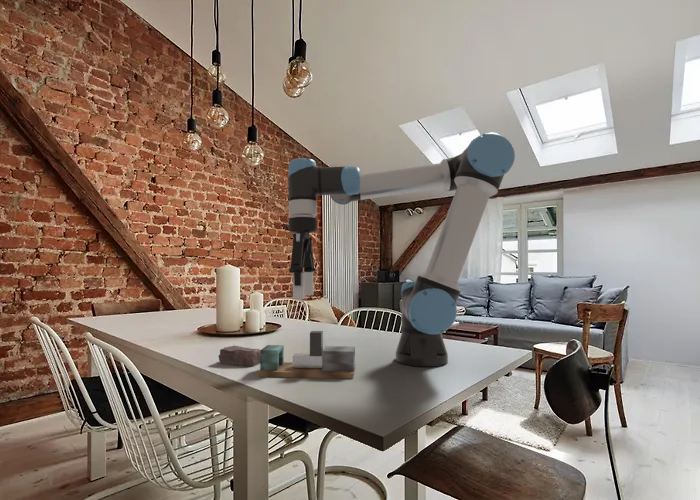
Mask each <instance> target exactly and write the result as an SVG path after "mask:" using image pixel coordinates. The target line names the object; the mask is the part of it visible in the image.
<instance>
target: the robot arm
mask: <svg viewBox="0 0 700 500" xmlns="http://www.w3.org/2000/svg"><path fill="white" fill-rule="evenodd" d="M515 157H516V153H515V149H514V147H513V146H512V144H511V142H510V140H509V139H507V138H506V137H505V136H503V135H502V134H498V133H497V132H486V133H482V134H479V135H478V136H477V137H475V138H473V139H472V140H471V141H470V142H469V144H468V146H466V148H465V149H464V150H463V151H462V152H461V153H460V154H458V155H455V156H453V157H449V158H444V159H442V160H441V161H440V162H439V163H432V164H424V165H417V166H411V167H404V168H398V169H397V168H396V169H391V170H383V171H378V172H377V171H376V172H369V173H363V174H361V169H360V168H359V167H358V166H350V165H344V166H325V167H323V166H320V167H319V166H317V163H316V161H315V160H314V159H311V158H305V157H300V158H295V159H292V160H290V161H289V163H288V175H287V183H288V184H287V185H288V186H287V187H288V188H287V189H288V190H287V191H288V205H286V209H287V210H288V216H289V217H290V218H288V231H289V232H290V233H293V235H292V237H293V238H292V249H291V250H292V251H291V261H290V268H289V269H288V270H289V271H288V272H289V274H292V300H305V296H314V273H315V272H316V271H317V268H315V262H314V261H315V260H314V250H313V238H312V236H310V233H311V234H313V233H316V232H317V231H318V219H317V218H316V217H317V216H318V202H317V196H329V197H330V198H331V200H332V201H333V202H335V203H336V204H338V205H342V206H343V205H348V204H349V203H351V202H356V201H357V202H358V201H361V200H362V201H363V200H370V199H375V198H376V199H377V198H384V197H390V196H399V195H405V194H414V193H420V192H427V191H434V190H442V189H443V190H444V191H446V192H451V191H455V192H454V195H453V198H452V201H451V204H450V207H449V208H448V211H447V214H446V216H445V219H444V223H443V225H442V227H441V230H440V232H439V234H438V235H439V236H438V238H437V240H436V244H435V246H434V249H433V251H432V253H431V257H430V260H429V262H428V265H427V268H426V270H425V271H424V272H421V273H419V274H418V275H417V277H416V280H414V281H413V280H412V281H407V282H404V283H402V285H401V290H400V296H401V335H400V337H399V341H398V344H397V347H396V351H395V361H396V362H398V363H400V364H403V365H405V366H406V365H408V366H413V367H438V366H444V365H446V364H447V363H448V362H449V355H448V350H447V348H446V346H445V341H444V339H443V335H442V333H445V332H446V331H447V330H448V331H449V329H450V328H451V327H452V326H453V325H454V323H455V321H456V319H457V313H458V312H457V310H458V309H457V302H458V299H459V296H460V295H461V291H462V290H461V288H460V285H459V283H458V281H459V280H460V276H461V273H462V271H463V268H464V266H465V264H466V261H467V258H468V255H469V252H470V251H471V247H472V245H473V242H474V239H475V237H476V233H477V231H478V229H479V226H480V224H481V223H480V222H481V221H482V218H483V215H484V213H485V210H486V208H487V204H488V201H489V198H491V197H493V196H495V195H497V194H498V193H499V189H500V186H501V185H502V181H503V180H504V177H505V174H507V173H508V172H509V171H510V170H511V169H512V167H513V166H514V162H515Z"/></svg>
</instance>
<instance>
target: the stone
mask: <svg viewBox="0 0 700 500" xmlns="http://www.w3.org/2000/svg"><path fill="white" fill-rule="evenodd" d="M260 350H261V349H260V348H251V347H243V346H241V345H240V346H238V345H232V346H231V345H230V346H226V347H223V348H221V349H220V350H219V354H218V360H219V363H220V364H221V365H233V366H237V365H238V366H244V367H245V366H246V367H256V366H258V365H259V364H260Z"/></svg>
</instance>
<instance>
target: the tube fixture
mask: <svg viewBox="0 0 700 500" xmlns="http://www.w3.org/2000/svg"><path fill="white" fill-rule="evenodd" d="M284 347H285V345H283V344H280V345H279V344H275V345H274V344H267V345H266V346H264V347H262V348H261V349H260V363H259V364H260V366H259V370H258V371H257V377H258V376H262V377H266V378H271V377H272V378H307V379H308V378H310V379H312V378H313V379H314V378H315V379H319V378H320V379H352V378H353V379H354V378H355V371H356V366H355V367H354V354H355V355H356V346H346V345H345V346H342V345H341V346H338V345H337V346H333V345H326V346H325V345H324V347H323V351H322V368H293V361H291V362H289V361H287V362H286V361H284V360H285V359H284V356H285V355H284V354H285V353H284V352H285V351H284V350H285V349H284Z"/></svg>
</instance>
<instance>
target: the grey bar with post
mask: <svg viewBox="0 0 700 500" xmlns="http://www.w3.org/2000/svg"><path fill="white" fill-rule="evenodd" d="M323 349H324V331H323V330H311V331H310V332H309V353H297V352H296V353H293V355H292V363H293V368H322V351H323ZM354 367H355V368H356V353H355V354H354Z"/></svg>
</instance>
